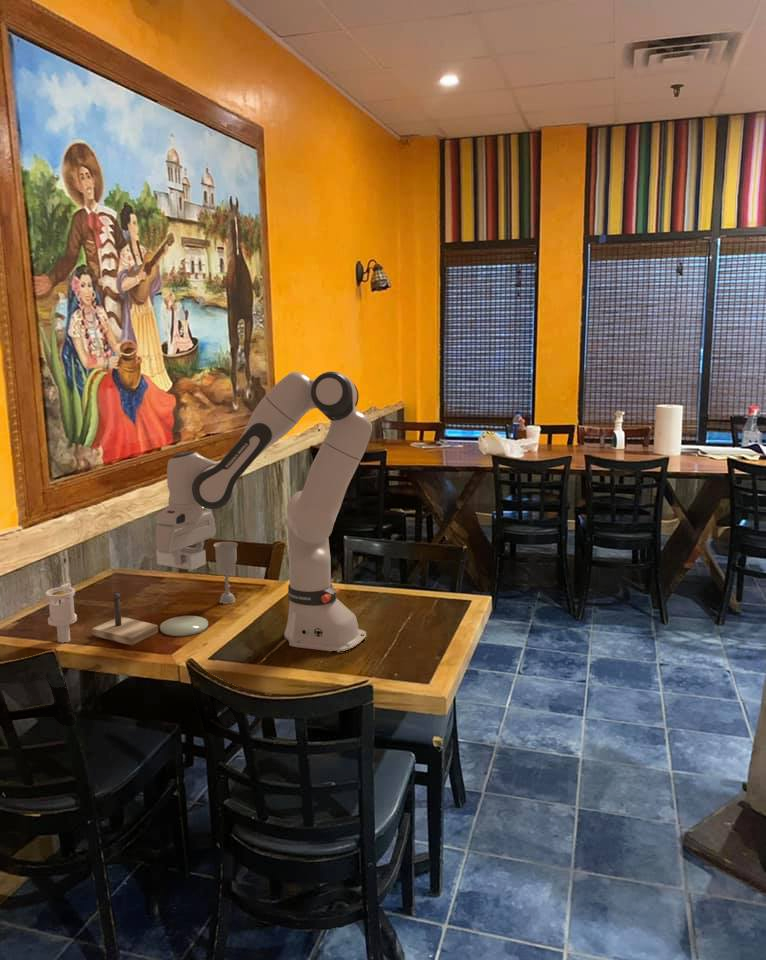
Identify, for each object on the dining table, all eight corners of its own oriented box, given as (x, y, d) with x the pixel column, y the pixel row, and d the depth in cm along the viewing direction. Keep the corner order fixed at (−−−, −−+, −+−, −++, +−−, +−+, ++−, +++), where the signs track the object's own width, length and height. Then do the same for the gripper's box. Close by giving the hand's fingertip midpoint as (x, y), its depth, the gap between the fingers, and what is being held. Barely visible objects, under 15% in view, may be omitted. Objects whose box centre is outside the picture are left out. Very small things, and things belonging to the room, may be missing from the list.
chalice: (242, 597, 235) (240, 542, 232) (236, 605, 229) (234, 548, 225) (219, 596, 236) (217, 541, 232) (212, 604, 229) (210, 547, 226)
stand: (158, 631, 209) (156, 593, 206) (131, 645, 200) (128, 604, 198) (120, 622, 215) (117, 585, 212) (92, 635, 206) (89, 596, 204)
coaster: (217, 623, 215) (217, 620, 215) (186, 639, 204) (186, 636, 203) (181, 615, 221) (181, 612, 220) (149, 630, 209) (149, 628, 209)
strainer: (84, 637, 205) (80, 584, 202) (66, 647, 198) (62, 592, 195) (62, 634, 207) (58, 581, 204) (43, 644, 200) (39, 590, 197)
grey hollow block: (206, 563, 208) (205, 550, 208) (191, 570, 203) (190, 555, 202) (172, 558, 214) (171, 544, 213) (157, 564, 208) (156, 550, 208)
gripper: (201, 502, 215) (204, 549, 217) (150, 518, 197) (153, 569, 200) (219, 504, 212) (221, 552, 215) (169, 521, 194) (172, 572, 197)
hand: (188, 560), depth 207 cm, fingers closed on grey hollow block, 6 cm apart
